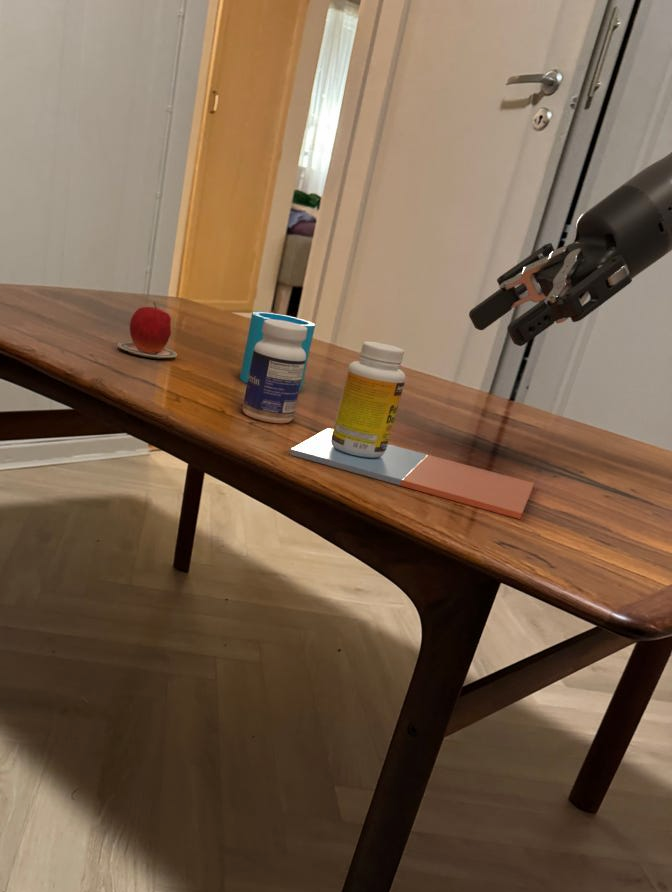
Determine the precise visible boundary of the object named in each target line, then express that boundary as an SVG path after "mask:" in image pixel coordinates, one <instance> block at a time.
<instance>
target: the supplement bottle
mask: <svg viewBox="0 0 672 892" xmlns="http://www.w3.org/2000/svg"><path fill="white" fill-rule="evenodd" d="M404 353H405V350H404V349H403V348H401V347H398V346H396V345H391V344H387V343H382V342H376V341H363V343H362V346H361V350H360V352H359V354H360V355H359V357H358V358H359V360H355V361H352V362H351V363H350V364H349V365H348V368H347V371H346V375H345V379H344V383H343V387H342V392H341V395H340V400H339V404H338V408H337V412H336V416H335V420H334V425H333V428H332V429H333V433H332V437H331V443H332V445H333V446H334V447H335V448H336V449H338V450H340V451H342V452H344V453H348V454H351V455H355V456H360V457H366V458H377V457H380V456H382V455H383V454H384V453H385V451H386V448H387V444H389V442H390V441H389V440H390V436H391V433H392V429H393V426H394V422H395V418H396V415H397V411H398V408H399V403H400V400H401V397H402V394H403V390H404V386H405V383H406V374H405V372H404V371H403V370H401V369H399V368H401V366H402V363H403V359H404Z"/></svg>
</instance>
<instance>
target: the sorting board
mask: <svg viewBox="0 0 672 892" xmlns="http://www.w3.org/2000/svg"><path fill="white" fill-rule="evenodd" d="M332 433H333V428H330V427H327V428H326V429H324V430H322V431H320V432H318V433H317V434H315V435H313V436H311V437H309V438H308V439H305V440H304V441H303V442H300V443H299V444H297V445H295V446H294V447H291V448H290V450H289V456H293V457H296V458H300V459H303V460H306V461H310V462H314V463H318V464H321V465H325V466H328V467H332V468H335V469H339V470H341V471H342V470H343V471H346V472H350V473H353V474H356V475H357V474H358V475H360V476H364V477H368V478H371V479H375V480H379V481H382V482H385V483H388V484H389V483H390V484H391V485H396V486H400V487H403V488H407V489H411V490H414V491H418V492H422V493H425V494H428V495H432V496H436V497H439V498H442V499H446V500H450V501H453V502H457V503H461V504H463V505H467V506H471V507H475V508H479V509H482V510H485V511H488V512H493V513H496V514H499V515H504V516H507V517H510V518H513V519H514V518H515V519H518V520H521V519H522V516H523V513H524V511H525V508H526V506H527V503H528V501H529V499H530V496H531V494H532V491H533V489H534V486H535V482H532V481H528V480H524V479H521V478H516V477H513V476H510V475H505V474H502V473H499V472H494V471H491V470H487V469H483V468H479V467H475V466H472V465H468V464H464V463H462V462H461V463H460V462H458V461H457V462H456V461H453V460H449V459H446V458H442V457H439V456H435V455H432V454H426V453H423V452H419V451H417V450H416V451H415V450H412V449H408V448H404V447H401V446H397V445H394V444H389V443H388V444H387V448H386V451H385V453H384V454H383V455H382V456H380V457H377V458H366V457H360V456H355V455H351V454H348V453H344V452H342V451H340V450H338V449H336V448H335V447H334V446H333V445H332V443H331V437H332Z"/></svg>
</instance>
